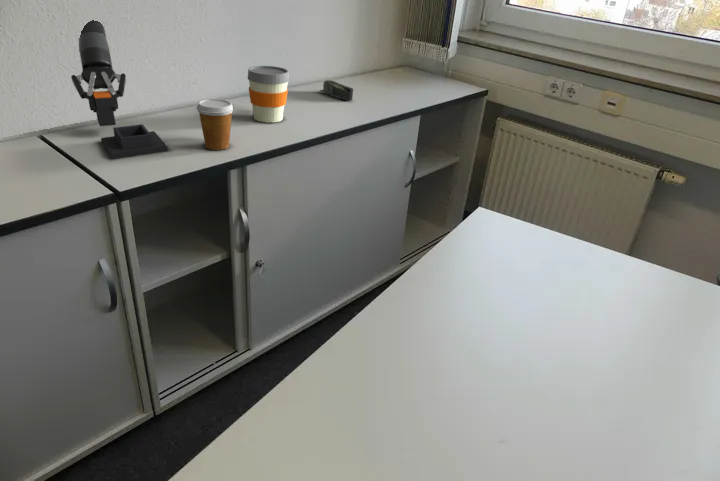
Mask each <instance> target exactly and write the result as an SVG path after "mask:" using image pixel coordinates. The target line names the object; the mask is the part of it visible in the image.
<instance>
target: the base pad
mask: <svg viewBox="0 0 720 481" xmlns="http://www.w3.org/2000/svg"><path fill="white" fill-rule="evenodd" d="M112 130H113V135H114V136H113V135H112V136H105V137H101V138H100V141H101V144H102V146H103V147H104V150H106V152H107V154H108V155H109V157H110V158H111V160H114V159H115V160H116V159H117V160H118V159H122V158H123V159H124V158H129V157H130V158H131V157H136V156H142V155H144V156H145V155H149V154H156V153H163V152H168V145H167V144H166V143H165V142H164V141H163V139H162V138H161V137H160V136H159V135H158V133H156V131H155V130H152V131H149V129H148V128H146V126H145V125H144V124H143V123H142V124H141V123H140V124H133V125H125V126H117V127H116V126H115V127H113V128H112Z"/></svg>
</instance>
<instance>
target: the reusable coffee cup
mask: <svg viewBox="0 0 720 481" xmlns="http://www.w3.org/2000/svg"><path fill="white" fill-rule="evenodd" d="M247 80H248V82H249V86H248V93H249V100H250V104H252V105H251V106H252V112H253V119H254V120H256V121H258V122H260V123H278V122H282V121H283V119H284V111H285V106H286V104H287V98H288V93H289V89H288V84H289V83H288V82H289V81H290V76H289V70H288V69H286V68H284V67H280V66H275V65H273V66H272V65H255V66H250V67H249V68H248V70H247Z"/></svg>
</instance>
